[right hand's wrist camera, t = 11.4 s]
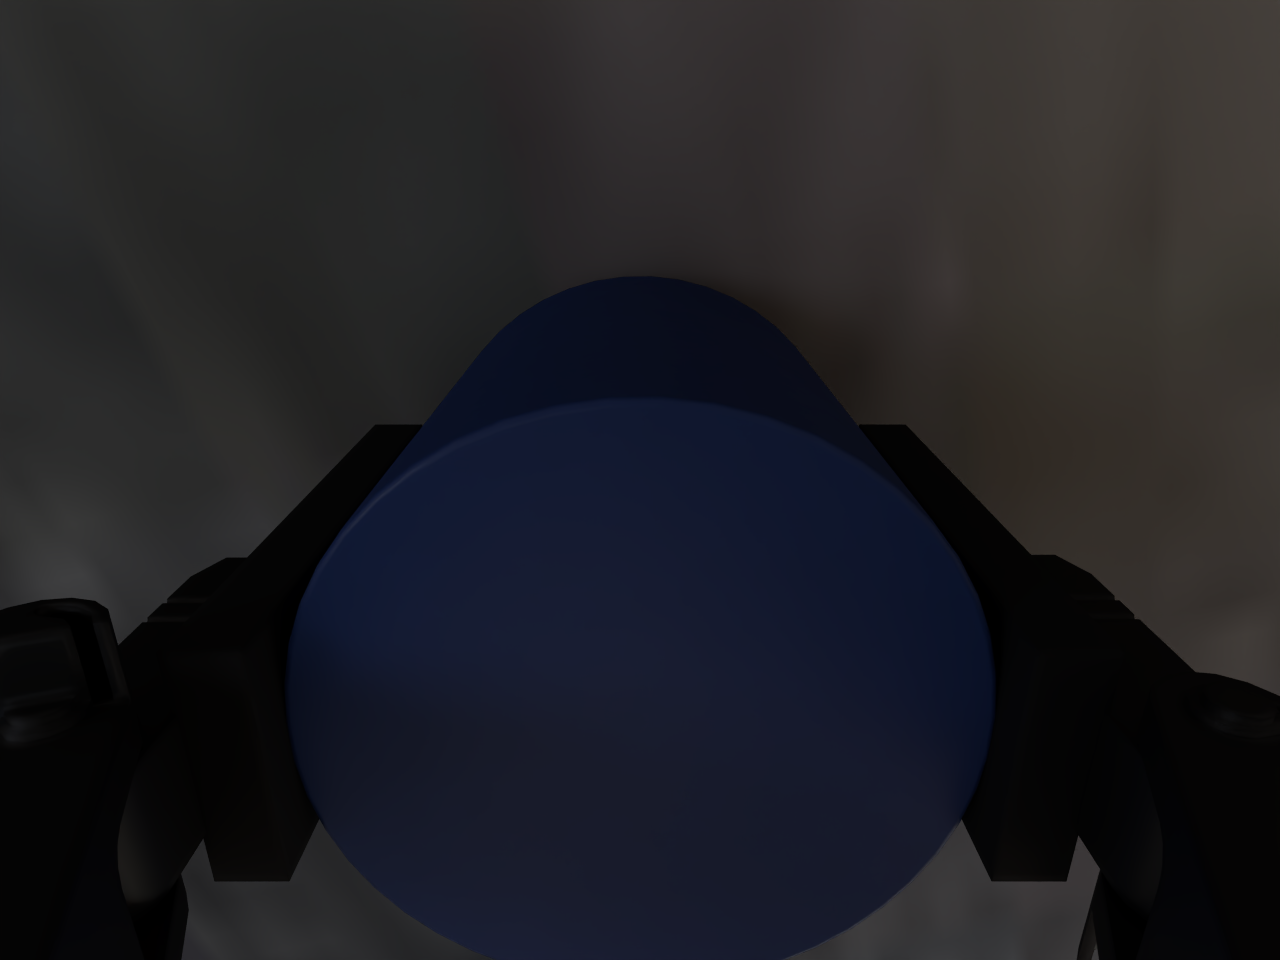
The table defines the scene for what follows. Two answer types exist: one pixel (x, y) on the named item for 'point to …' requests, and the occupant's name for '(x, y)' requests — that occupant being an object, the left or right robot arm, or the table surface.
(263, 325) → the table surface
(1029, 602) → the right robot arm
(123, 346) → the table surface
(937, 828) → the canister
